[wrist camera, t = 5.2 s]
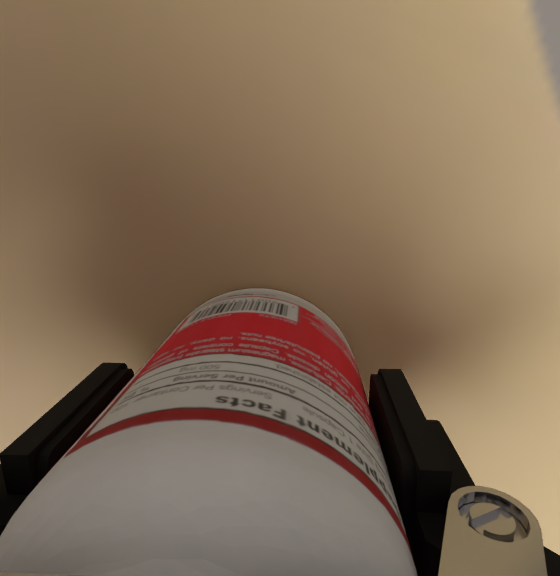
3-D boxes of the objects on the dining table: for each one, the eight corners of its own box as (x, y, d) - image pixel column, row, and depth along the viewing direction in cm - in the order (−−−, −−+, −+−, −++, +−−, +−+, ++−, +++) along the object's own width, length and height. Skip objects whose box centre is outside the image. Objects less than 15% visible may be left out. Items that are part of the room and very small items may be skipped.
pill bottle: (257, 488, 14) (119, 1349, 4) (129, 367, 14) (-513, 1042, 3) (397, 382, 13) (788, 1245, 2) (266, 241, 12) (7, 631, 2)
